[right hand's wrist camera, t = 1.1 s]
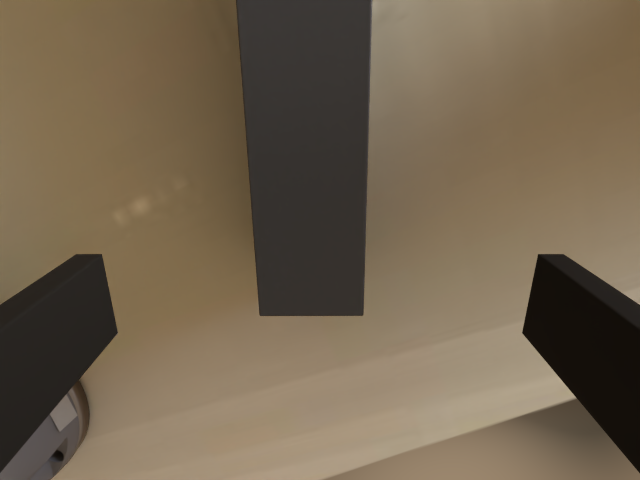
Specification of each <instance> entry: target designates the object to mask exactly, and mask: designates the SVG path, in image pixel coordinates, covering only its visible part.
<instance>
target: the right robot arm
mask: <svg viewBox="0 0 640 480" xmlns="http://www.w3.org/2000/svg"><path fill="white" fill-rule="evenodd" d="M117 333H118V332H117V327H116V322H115V317H114V312H113V307H112V302H111V297H110V292H109V287H108V282H107V278H106V273H105V268H104V263H103V258H102V254H76V255H75V256H73V257H72V258H70V259H69V260H67V261H66V262H64V263H63V264H61V265H60V266H58V267H57V268H55V269H54V270H52V271H51V272H49V273H48V274H46V275H45V276H43V277H42V278H40V279H39V280H37V281H36V282H34V283H33V284H31V285H30V286H28V287H27V288H25V289H24V290H22V291H21V292H19V293H18V294H16V295H15V296H13V297H12V298H10V299H9V300H7V301H6V302H4V303H3V304H1V305H0V480H50V479H52V478H53V477H54V476H55V475H56V474H57V473H58V472H59V471H60V470H61V469H62V468H63V467H64V466H65V465H66V464H67V463H68V461H69V460H70V459H71V458H72V456H73V455H74V453H75V452H76V450H77V449H78V448H79V446H80V445H81V443H82V442H83V440H84V438H85V436H86V433H87V430H88V425H89V407H88V402H87V398H86V395H85V393H84V390H83V388H82V386H81V384H80V382H79V379H80V377H81V376H82V375H83V374H84V373H85V371H86V370H87V369H88V368H89V367H90V365H91V364H92V363H93V362H94V361H95V359H96V358H97V357H98V356H99V355H100V354H101V352H102V351H103V350H104V349H105V348H106V346H107V345H108V344H109V343H110V342H111V340H112V339H113V338H114V337H115V336H116V334H117ZM522 333H523V334H524V336H525V337H526V338H527V339H528V340H529V342H530V343H531V344H532V345H533V346H534V348H535V349H536V350H537V351H538V352H539V354H540V355H541V356H542V357H543V358H544V359H545V361H546V362H547V363H548V364H549V365H550V367H551V368H552V369H553V370H554V371H555V373H556V374H557V375H558V376H559V377H560V379H561V380H562V381H563V382H564V383H565V385H566V386H567V387H568V388H569V389H570V390H571V392H572V393H573V394H574V395H575V396H576V398H577V399H578V400H579V401H580V402H581V404H582V405H583V406H584V407H585V408H586V410H587V411H588V412H589V413H590V414H591V416H592V417H593V418H594V419H595V420H596V421H597V423H598V424H599V425H600V426H601V427H602V429H603V430H604V431H605V432H606V433H607V435H608V436H609V437H610V438H611V439H612V441H613V442H614V443H615V444H616V445H617V447H618V448H619V449H620V450H621V451H622V452H623V454H624V455H625V456H626V457H627V458H628V460H629V461H630V462H631V463H632V464H633V466H634V467H635V468H636V469H637V470H638V471H639V473H640V305H639V304H637V303H636V302H634V301H633V300H631V299H630V298H628V297H627V296H625V295H624V294H622V293H621V292H619V291H618V290H616V289H615V288H613V287H612V286H610V285H609V284H607V283H606V282H604V281H603V280H601V279H600V278H598V277H597V276H595V275H594V274H592V273H591V272H589V271H588V270H586V269H585V268H583V267H582V266H580V265H579V264H577V263H576V262H574V261H573V260H571V259H570V258H568V257H567V256H565V255H564V254H538V258H537V263H536V268H535V273H534V278H533V282H532V287H531V292H530V297H529V302H528V307H527V312H526V317H525V322H524V327H523V332H522Z"/></svg>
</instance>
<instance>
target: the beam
mask: <svg viewBox="0 0 640 480" xmlns="http://www.w3.org/2000/svg"><path fill="white" fill-rule="evenodd" d="M236 5H237V19H238V32H239V46H240V59H241V73H242V86H243V99H244V113H245V126H246V140H247V153H248V167H249V180H250V193H251V207H252V220H253V234H254V247H255V260H256V274H257V287H258V301H259V314H260V316H363V309H364V274H365V239H366V203H367V168H368V132H369V97H370V61H371V26H372V0H236Z"/></svg>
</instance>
